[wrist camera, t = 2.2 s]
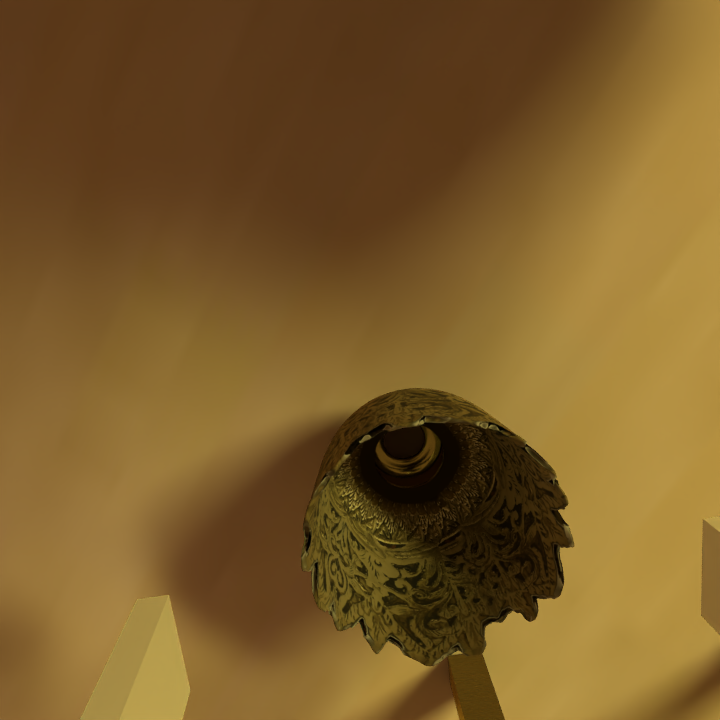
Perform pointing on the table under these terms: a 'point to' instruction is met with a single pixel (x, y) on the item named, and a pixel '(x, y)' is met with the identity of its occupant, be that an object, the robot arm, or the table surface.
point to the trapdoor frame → (473, 688)
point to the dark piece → (432, 527)
